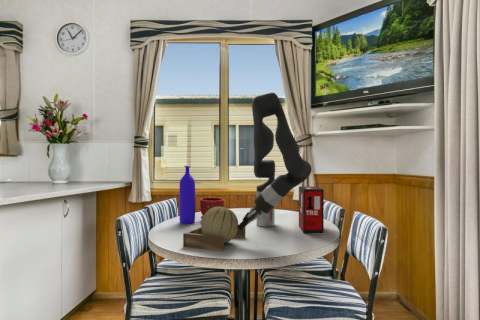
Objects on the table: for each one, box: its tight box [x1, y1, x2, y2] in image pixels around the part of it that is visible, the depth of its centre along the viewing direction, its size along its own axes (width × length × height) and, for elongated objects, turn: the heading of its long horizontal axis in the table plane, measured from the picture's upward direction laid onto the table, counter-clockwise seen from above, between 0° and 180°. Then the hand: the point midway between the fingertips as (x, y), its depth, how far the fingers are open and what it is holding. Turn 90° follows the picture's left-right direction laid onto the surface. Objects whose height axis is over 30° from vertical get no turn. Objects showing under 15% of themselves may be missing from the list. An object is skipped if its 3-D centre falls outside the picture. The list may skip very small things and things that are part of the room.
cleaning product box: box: [298, 186, 325, 235], centre depth 158 cm, size 16×9×20 cm, turn 178°
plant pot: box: [199, 197, 225, 220], centre depth 182 cm, size 13×13×12 cm
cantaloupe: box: [200, 204, 239, 244], centre depth 132 cm, size 15×15×15 cm
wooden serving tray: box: [182, 226, 246, 252], centre depth 135 cm, size 23×17×5 cm
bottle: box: [178, 165, 196, 225], centre depth 175 cm, size 8×8×30 cm
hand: (239, 228), depth 131 cm, fingers closed
